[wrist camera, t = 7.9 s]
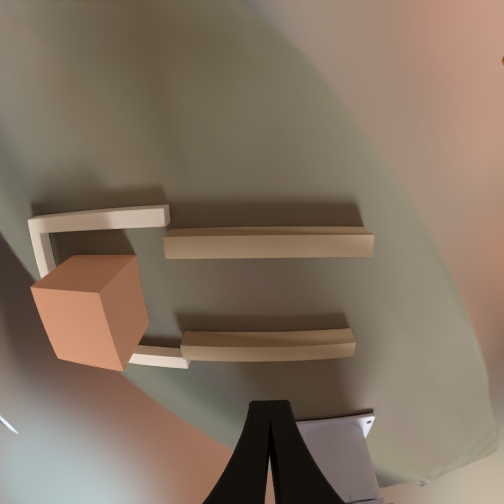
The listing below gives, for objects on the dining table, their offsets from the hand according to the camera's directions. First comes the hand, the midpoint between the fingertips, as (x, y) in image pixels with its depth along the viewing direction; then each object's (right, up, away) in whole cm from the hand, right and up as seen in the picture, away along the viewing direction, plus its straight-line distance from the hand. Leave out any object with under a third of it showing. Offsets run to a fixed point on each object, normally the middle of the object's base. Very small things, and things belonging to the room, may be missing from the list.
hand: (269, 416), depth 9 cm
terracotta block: (-10, +4, +8) cm, 14 cm away
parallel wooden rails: (0, +4, +8) cm, 9 cm away
